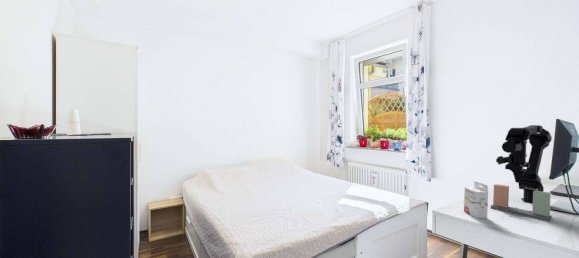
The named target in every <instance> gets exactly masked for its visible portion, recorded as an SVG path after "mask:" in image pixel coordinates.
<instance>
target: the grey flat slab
mask: <svg viewBox="0 0 579 258" xmlns="http://www.w3.org/2000/svg"><path fill="white" fill-rule="evenodd" d="M490 209H493V210H497V211H501V212H504V213H505V212H506V213H511V214H514V215H518V216H523V217H527V218H531V219H537V220H541V221H545V222H550V221H551V220H552V219H551V218H553V217H552V215H549V217H547V216H542V215H538V214H533V213H532V210H527V209H522V208H517V207H514V206H509V205H508V207H507V208H506V207H501V206H497V205H493V204H491V205H490Z"/></svg>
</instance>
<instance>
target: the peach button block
mask: <svg viewBox="0 0 579 258" xmlns="http://www.w3.org/2000/svg"><path fill="white" fill-rule="evenodd" d="M509 197H510V186H509V185H506V184H499V183H495V184H493V199H492V200H493V201H492V205H497V206H501V207H506V208H507V207H508V206H509V201H510V200H509V199H510V198H509Z"/></svg>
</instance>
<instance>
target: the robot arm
mask: <svg viewBox="0 0 579 258" xmlns="http://www.w3.org/2000/svg"><path fill="white" fill-rule="evenodd" d="M504 140H505V141H504V142H503V143H502V145H501V149H502V151H504V152H505V153H508V156H503V155H501V156H497V158H495V163H497V165H502V164H505V165H504V167H505V168H504V169H505V170H510V172H512V174H513V178H514V181H515V183H517V184H518V189H519V190H523V197H521V201H523V202H525V203H532V204H533V191H534V190H537V191H543V192H545V190H544V189H545V188H544V185H543V183H542V179H541V177H540V176H539V170H540V167H541V166H540V165H541V162H542V158H543V153H544V150H545V149H546V148H548V147H549V146H550V143H551V142H552V135H551V133H550V131H549V130H547V129H545V128H544V127H543V126H542V125H539V124H537V125H536V124H532V125H528V126H525V127H524V126H523V127H511V128H510V129H508V132H507V134H506V136H505V139H504ZM528 142H529V144H530V145H531V150H530V153H529V157H528V154H527V144H528ZM527 157H528V160H527Z"/></svg>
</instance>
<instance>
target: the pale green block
mask: <svg viewBox="0 0 579 258" xmlns="http://www.w3.org/2000/svg"><path fill="white" fill-rule="evenodd" d="M551 195H552V194H551V192H549V191H537V190H534V191H533V203H532V210H531V211H532V213H533V214H538V215H542V216H547V217H549V215H550V213H551Z"/></svg>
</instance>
